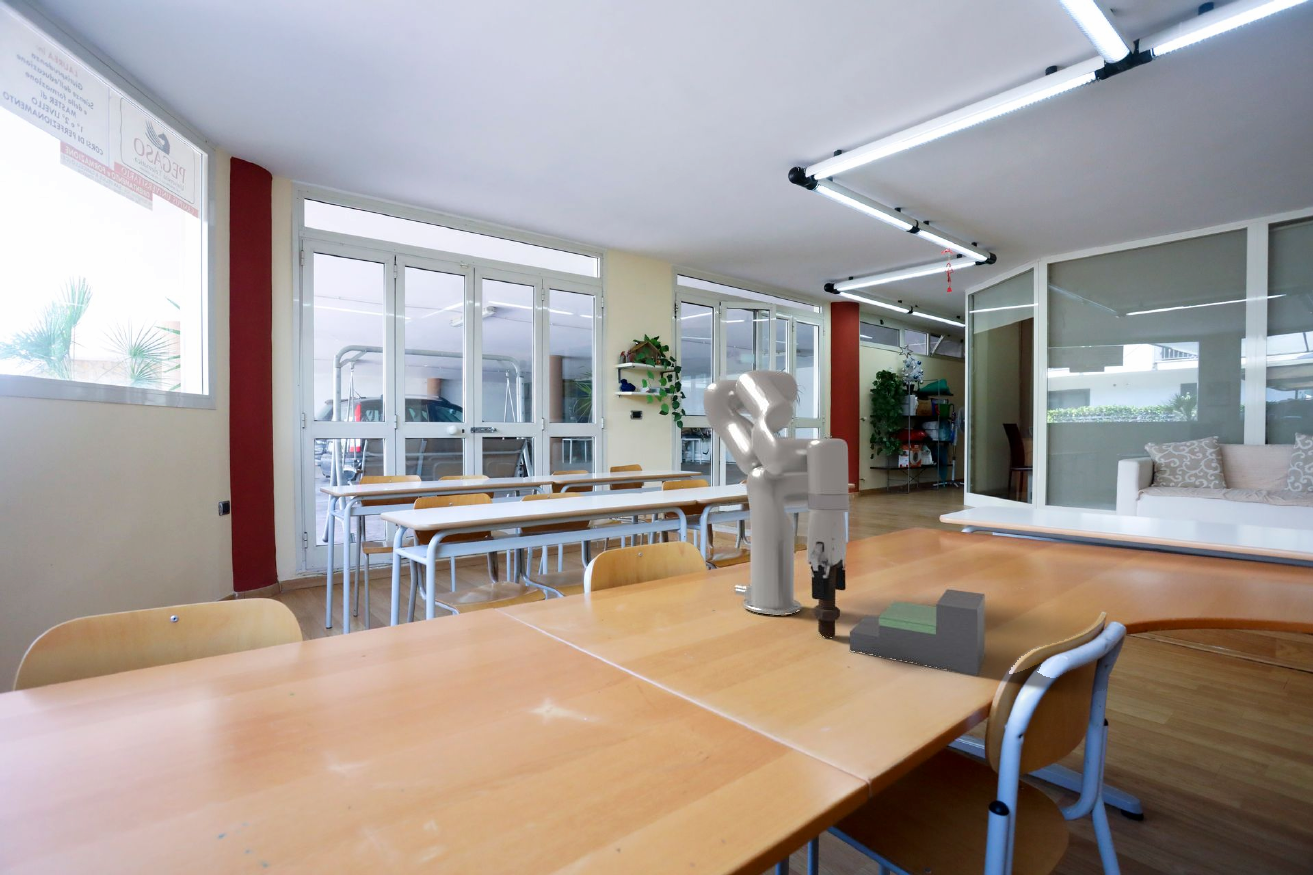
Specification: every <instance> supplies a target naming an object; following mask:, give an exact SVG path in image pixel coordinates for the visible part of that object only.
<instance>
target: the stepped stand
mask: <svg viewBox="0 0 1313 875" xmlns="http://www.w3.org/2000/svg"><path fill="white" fill-rule="evenodd" d="M985 596H986V594H985V593H980V592H973V591H972V592H971V591H965V590H956V589H955V590H954V589H948V588H946V590H945V591H944V593H943V594H942V596H941V597H940V598H939V600H938V601H937V602H936V606H931V605H925V604H917V603H910V602H904V601H897V600H894V601H893V602H892V603H891V604H890V605H888V607H887V608H885V610H884V611H883V612H882V613H881V614H880V615H879V616H873V615H868V614H867V615H866V616H865V617H864V618H863V619H862V620H861V621H859V623H857V624H856V625H855V626H854V627H852V629H851V630H850V631H849V651H850V650H851V651H855V652H862V653H865V654H873V655H876V656H881V657H885V658H884V659H886V658H892V659H896V660H902V661H907V662H913V663H917V664H920V665H919V666H922V665H927V666H931V667H930V668H932V667H937V668H939V669H938V670H942V669H947V670H946V671H948V670H949V672H953V671H954V672H955V673H960V674H962V675H963V674H964V675H969V676H974V677H978V676H979V673H980V669H981V666H982V663H983V660H984V657H985V654H986V653H985V648H986V647H985V641H986V640H985V638H986V637H985V636H986V635H985V634H986V632H985V628H986V627H985V624H986V622H985V621H986V620H985V615H986V611H985V608H986V606H985V605H986V604H985V602H986V600H985V599H986V598H985ZM855 652H854V653H855ZM984 653H985V654H984ZM865 654H864V655H865ZM876 656H875V657H876ZM881 657H880V658H881ZM896 660H895V661H896ZM917 664H916V665H917ZM927 666H926V667H927ZM937 668H936V669H937ZM954 672H953V673H954Z"/></svg>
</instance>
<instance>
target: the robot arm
mask: <svg viewBox="0 0 1313 875" xmlns="http://www.w3.org/2000/svg"><path fill="white" fill-rule="evenodd" d="M798 388H799V387H798V383H797V380H796V379H795V378H794V376H793V375H792V374H790V373H789V372H787V371H779V370H764V369H763V370H760V369H755V370H749V371H746V372H744V373H742V374H741V375H740V376H738V378H737V379H723V380H716V381H714V382H711V383H710V384H709V385H708V386H707V387H706V388H705V389H704V392H703V397H702V398H703V400H702V401H703V410H704V414H705V417H706V420H707V421H708V424H709V426H710V427H711V428H712V430H713V431H714V432H715V433H716V434H717V435H718V437H719V438H720V439H721V440H722V442H723V443H724V444H725V446H726V448H727V449H728V451H729V453H730V454H731V455H730V456H732V458H733V460H734V462H735V463H736V465H737V467H738V468H739V469H740V471H741V472H742V473H744V474H745V475H746V476H747V478H746V483H745V486H746V488H745V489H746V496H747V500H748V506H749V513H750V514H749V516H750V519H749V520H750V522H749V523H750V584H748V585H745V584H740V583H736V584H735V586H734V592H735V595H738V596H739V595H741V596H744V597H745V599H744V600H743V603H742V605H744V607H745V608H747V609H749V610H753V611H755V612H758V613H769V614H785V613H794V612H796V611H797V610H800V609H801V610H802V604H801V602H800V601H798V600H796V599H795V528H794V525H793V524H794V523H793V522H792V520H791V518H790V517H789V515H788V513H787V512H786V510H785V509H789V508H791V509H792V508H807V511H808V512H809V516H808V526H807V539H806V543H807V544H806V545H807V546H806V562H807V564H809V565H810V569H811V573H810V576H811V597H812V599H814V600H826V601H828V600H830V578H828V573H829V569H830V566H833V565H835V564H837V563H838V562H839V561H840V560H841V559H842V560H843V566H841V567H839V568H836V577H835V578H836V582H835V583H836V584H835V585H836V586H835V587H836V588H835V590H836V591H845V590H846V562H845V559H846V557H847V526H846V516H845V514H846V513H849V511H850V509H849V508H850V506H849V504H850V503H849V498H850V497H849V496H850V495H849V451H848V450H849V448H848V443H847V442H846V440H844V439H841V438H792V437H789V436H781V435H779V436H777V435H776V433H779V432H780V431H782V430H783V429H785V428H786V427H787V426H788V425H789V424H790V422H791V421H792V418H793V415H794V414H793V413H794V409H793V406H792V405H793V404H794V403H795V401H796V400H797V398H798V392H799V390H798ZM742 414H745V415H746V414H748V415H750V416H751V417H752V419H753V421H754V423H753V422H752V421H751V420H750V419H749V418H747V417H745V416H744V415H742ZM823 567H825V568H824V570H823ZM744 607H743V608H744ZM745 608H744V609H745ZM758 613H757V614H758Z"/></svg>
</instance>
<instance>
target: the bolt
mask: <svg viewBox="0 0 1313 875" xmlns="http://www.w3.org/2000/svg"><path fill="white" fill-rule="evenodd" d="M841 566H843V560H842V559H841V560H840V561H839V562H838V563H837V564H835V565H833V566H830V569H829V573H828V578H830V600H828V601H826V600H818V599H817V600H818V602H817V605H815V607H813V609H812V610H813V616H814V617H815V618H816V619H817V620H818V623H817V624H818V625H817V626H818V627H817V628H818V629H817V632H818V633H819V635H820V634H821V635H822V636H824V637H827V638H829V637H833V636H834V637H835V636H836V621H837V620H839V619H840V617H841V609H840V608H839V607H838V606H836V600H837V599H836V591H837V590H835V588H836V587H835V586H836V585H835V584H836V583H835V582H836V578H835V577H836V568H839V567H841ZM824 568H825V567H823V570H824ZM821 635H820V636H821ZM822 636H821V637H822ZM834 637H833V638H834Z"/></svg>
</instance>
